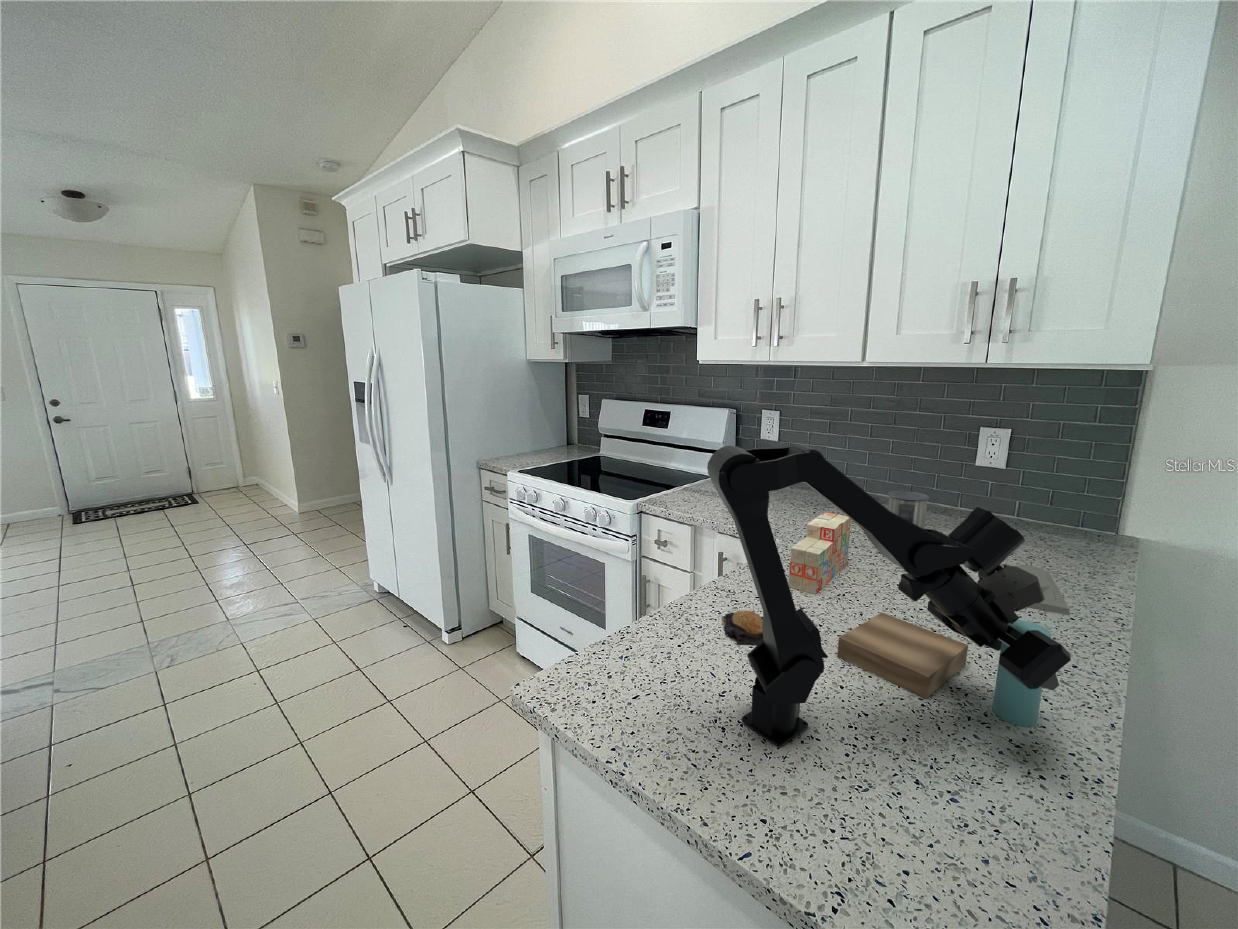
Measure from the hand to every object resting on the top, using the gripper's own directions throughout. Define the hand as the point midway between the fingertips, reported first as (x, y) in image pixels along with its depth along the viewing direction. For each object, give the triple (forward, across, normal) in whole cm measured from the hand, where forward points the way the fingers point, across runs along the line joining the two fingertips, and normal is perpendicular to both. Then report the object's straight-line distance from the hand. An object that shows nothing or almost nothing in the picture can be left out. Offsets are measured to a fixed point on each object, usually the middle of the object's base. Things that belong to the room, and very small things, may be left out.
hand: (1026, 666), depth 71 cm
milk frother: (+22, +59, -11) cm, 63 cm away
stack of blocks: (0, +49, +11) cm, 50 cm away
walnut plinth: (-1, +14, +11) cm, 18 cm away
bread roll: (-16, +26, +28) cm, 41 cm away
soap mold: (+29, +37, -18) cm, 51 cm away
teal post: (+5, 0, +6) cm, 7 cm away
